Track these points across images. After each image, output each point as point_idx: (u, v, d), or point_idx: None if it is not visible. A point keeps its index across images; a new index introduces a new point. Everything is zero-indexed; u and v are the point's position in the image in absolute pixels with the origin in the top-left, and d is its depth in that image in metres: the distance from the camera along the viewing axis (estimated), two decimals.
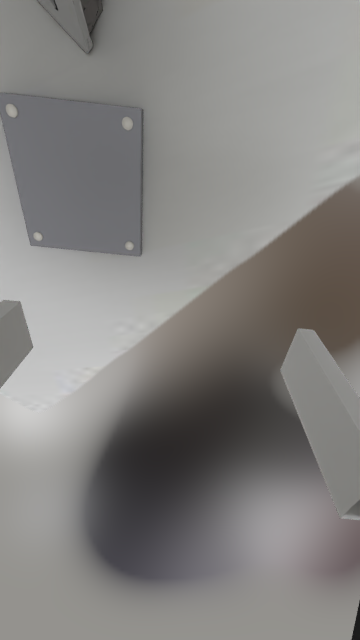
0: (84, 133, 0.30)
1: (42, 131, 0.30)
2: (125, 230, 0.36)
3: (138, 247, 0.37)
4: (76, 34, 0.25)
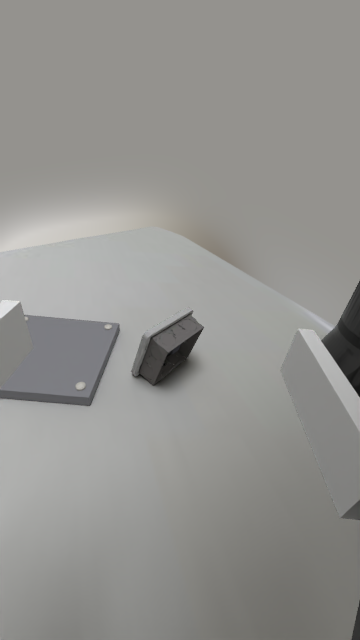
0: (83, 358, 0.37)
1: (93, 337, 0.41)
2: None
3: None
4: None
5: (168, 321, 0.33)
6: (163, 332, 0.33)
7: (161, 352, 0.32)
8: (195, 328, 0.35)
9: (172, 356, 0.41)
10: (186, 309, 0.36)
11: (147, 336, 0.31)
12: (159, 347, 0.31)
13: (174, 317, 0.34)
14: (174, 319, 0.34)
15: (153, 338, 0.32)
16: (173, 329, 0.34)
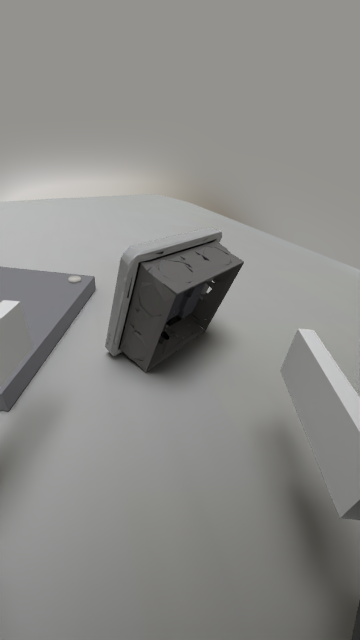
0: None
1: (45, 292, 0.24)
2: None
3: None
4: None
5: (176, 239, 0.16)
6: (166, 259, 0.16)
7: (162, 297, 0.14)
8: (228, 262, 0.18)
9: (181, 325, 0.23)
10: (210, 229, 0.19)
11: (132, 257, 0.14)
12: (157, 284, 0.14)
13: (188, 235, 0.17)
14: (188, 238, 0.17)
15: (144, 265, 0.14)
16: (186, 257, 0.17)
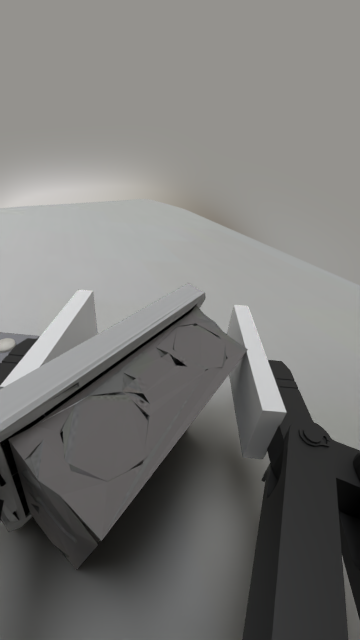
0: None
1: None
2: None
3: None
4: None
5: (113, 339, 0.08)
6: (89, 394, 0.07)
7: (71, 518, 0.06)
8: (222, 359, 0.09)
9: None
10: (184, 290, 0.11)
11: None
12: (53, 498, 0.05)
13: (141, 320, 0.08)
14: (141, 328, 0.08)
15: (19, 445, 0.06)
16: (138, 371, 0.08)
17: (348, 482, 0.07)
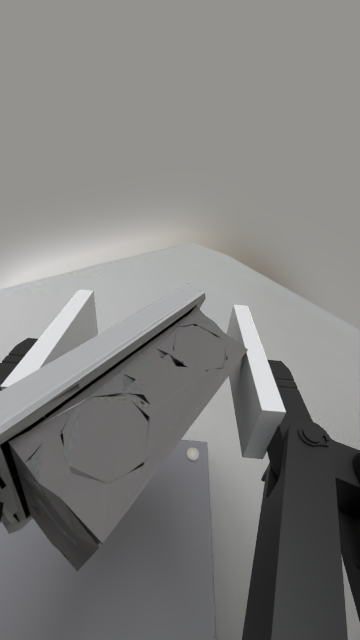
0: (173, 561, 0.19)
1: (174, 487, 0.23)
2: None
3: None
4: None
5: (113, 340, 0.08)
6: (89, 395, 0.07)
7: (72, 520, 0.06)
8: (222, 359, 0.09)
9: None
10: (184, 291, 0.11)
11: None
12: (53, 501, 0.05)
13: (141, 321, 0.08)
14: (141, 329, 0.08)
15: (19, 447, 0.06)
16: (138, 372, 0.08)
17: (347, 482, 0.07)
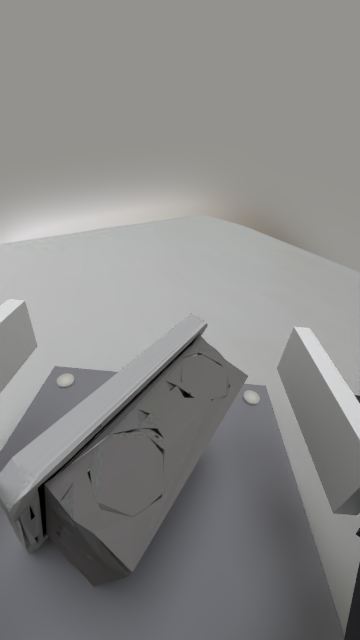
0: (253, 523, 0.13)
1: (235, 433, 0.17)
2: None
3: None
4: None
5: (129, 380, 0.08)
6: (109, 432, 0.08)
7: (101, 550, 0.06)
8: (225, 388, 0.10)
9: None
10: (188, 322, 0.11)
11: (16, 491, 0.06)
12: (86, 535, 0.06)
13: (152, 357, 0.09)
14: (152, 366, 0.09)
15: (54, 488, 0.06)
16: (151, 406, 0.09)
17: None
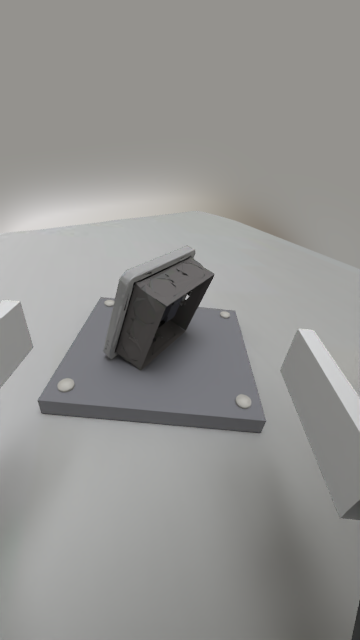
0: (219, 358, 0.25)
1: (213, 328, 0.29)
2: (94, 383, 0.21)
3: (57, 399, 0.19)
4: None
5: (161, 260, 0.20)
6: (154, 277, 0.19)
7: (154, 308, 0.18)
8: (202, 275, 0.22)
9: (165, 328, 0.27)
10: (185, 248, 0.23)
11: (128, 279, 0.18)
12: (150, 299, 0.18)
13: (169, 256, 0.21)
14: (170, 258, 0.21)
15: (138, 284, 0.18)
16: (169, 274, 0.21)
17: None
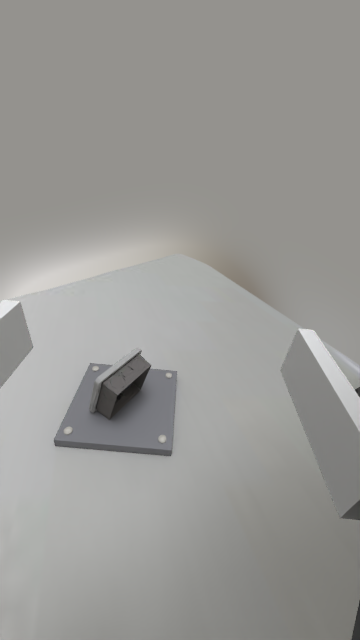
0: (156, 410, 0.43)
1: (158, 387, 0.47)
2: (83, 429, 0.39)
3: (63, 439, 0.37)
4: None
5: (117, 365, 0.38)
6: (113, 375, 0.37)
7: (112, 394, 0.36)
8: (143, 368, 0.40)
9: (127, 389, 0.45)
10: (135, 350, 0.41)
11: (98, 382, 0.36)
12: (109, 390, 0.36)
13: (123, 360, 0.39)
14: (123, 362, 0.39)
15: (104, 383, 0.36)
16: (123, 371, 0.39)
17: None
